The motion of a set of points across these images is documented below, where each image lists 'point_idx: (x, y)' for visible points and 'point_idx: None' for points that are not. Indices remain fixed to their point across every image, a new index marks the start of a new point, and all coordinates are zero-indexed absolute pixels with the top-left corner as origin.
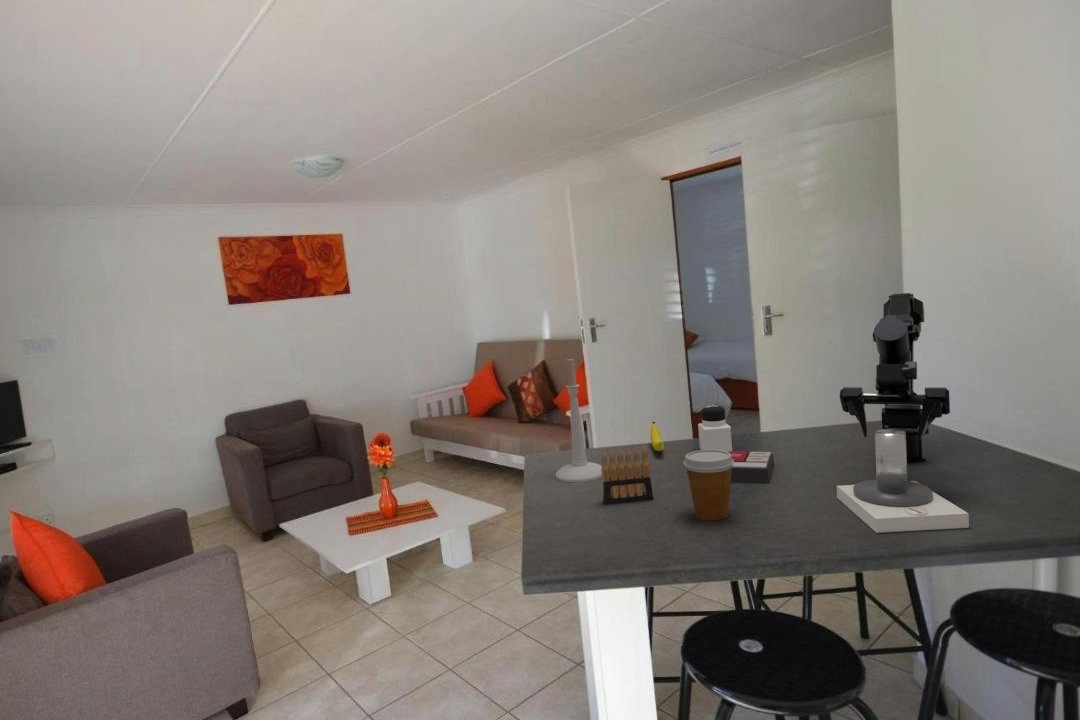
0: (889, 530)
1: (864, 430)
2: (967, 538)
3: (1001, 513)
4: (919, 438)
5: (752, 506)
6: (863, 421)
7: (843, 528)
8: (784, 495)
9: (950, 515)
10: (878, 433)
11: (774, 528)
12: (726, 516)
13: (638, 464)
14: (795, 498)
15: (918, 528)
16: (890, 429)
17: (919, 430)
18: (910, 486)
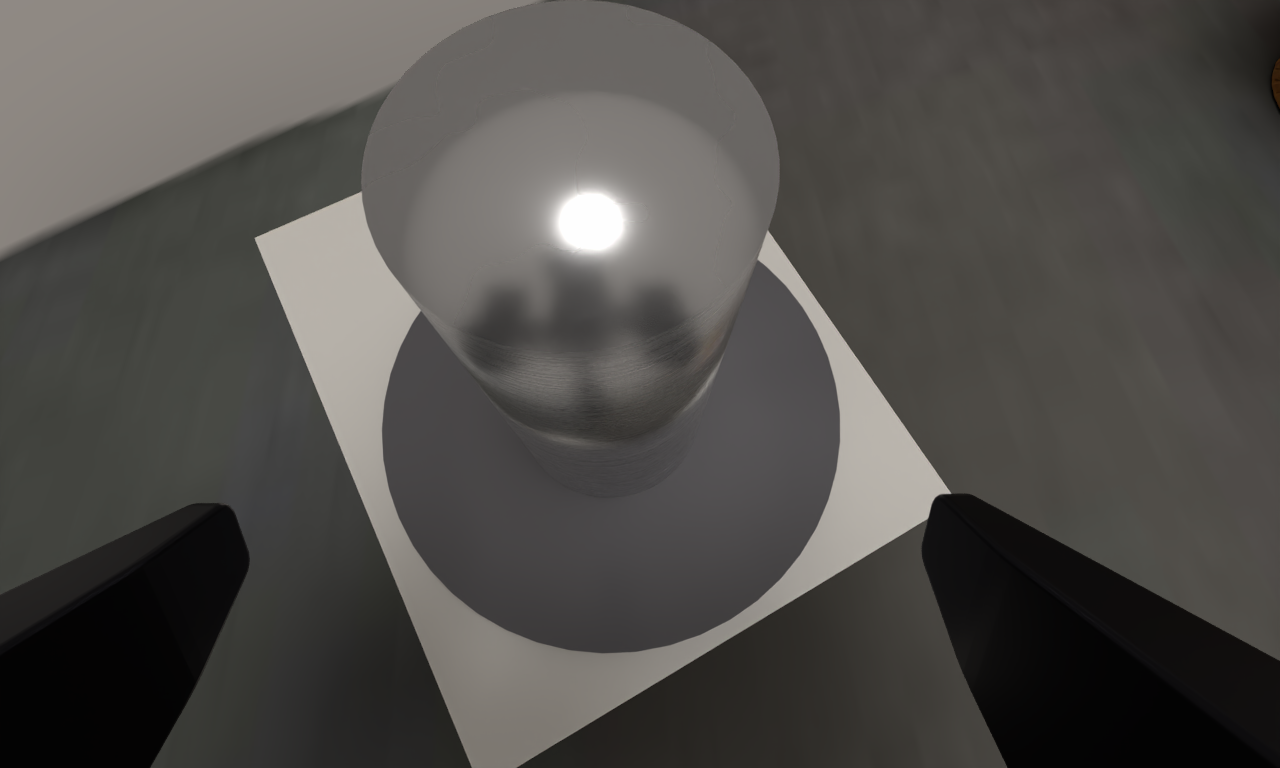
0: None
1: (995, 526)
2: (320, 164)
3: (100, 518)
4: (234, 526)
5: (1255, 249)
6: (1144, 631)
7: (780, 121)
8: (1204, 466)
9: (340, 203)
10: (717, 82)
11: (1030, 45)
12: (1275, 82)
13: None
14: (1124, 433)
15: None
16: (578, 338)
17: (142, 555)
18: (505, 508)
